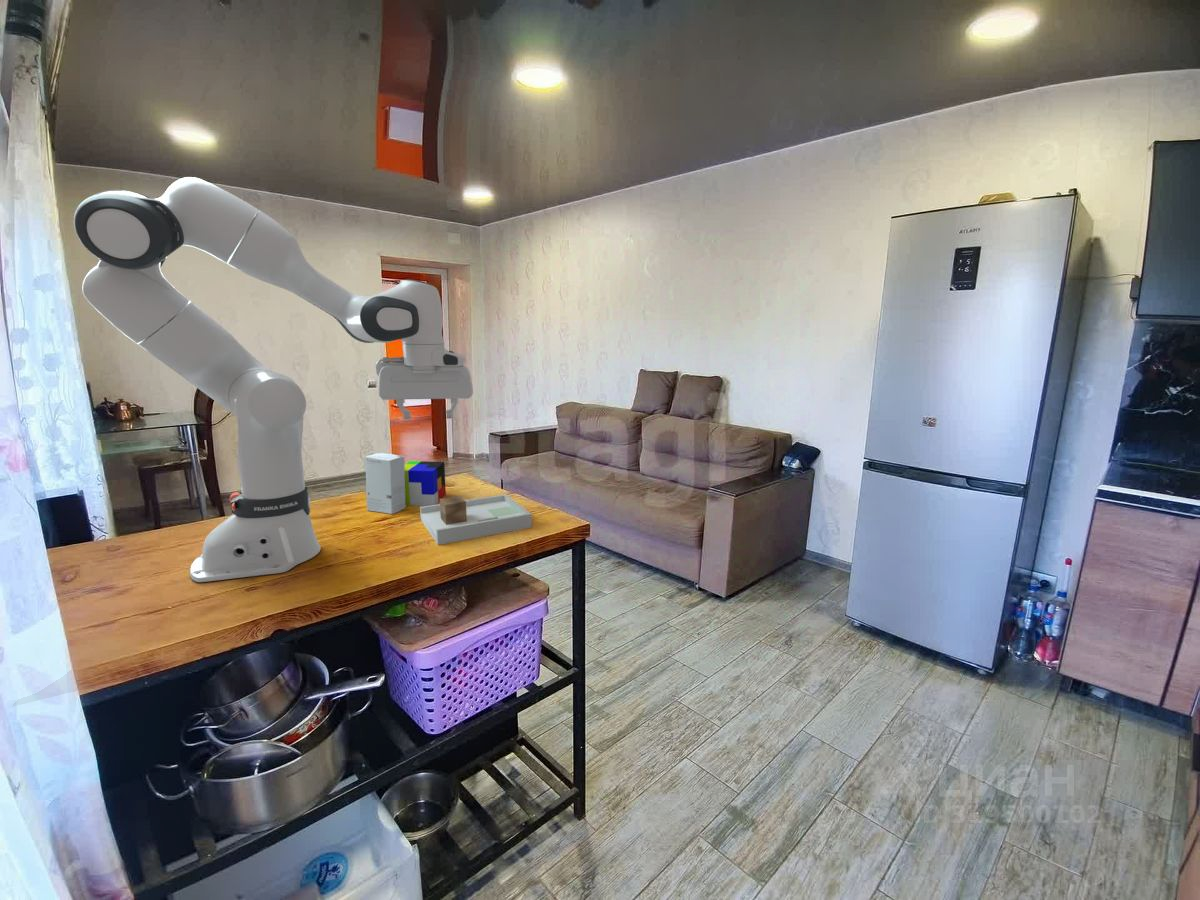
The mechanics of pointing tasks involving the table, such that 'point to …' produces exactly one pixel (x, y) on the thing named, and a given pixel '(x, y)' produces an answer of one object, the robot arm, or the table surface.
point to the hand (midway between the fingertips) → (428, 418)
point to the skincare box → (385, 482)
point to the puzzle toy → (424, 483)
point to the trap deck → (477, 519)
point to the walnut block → (453, 510)
